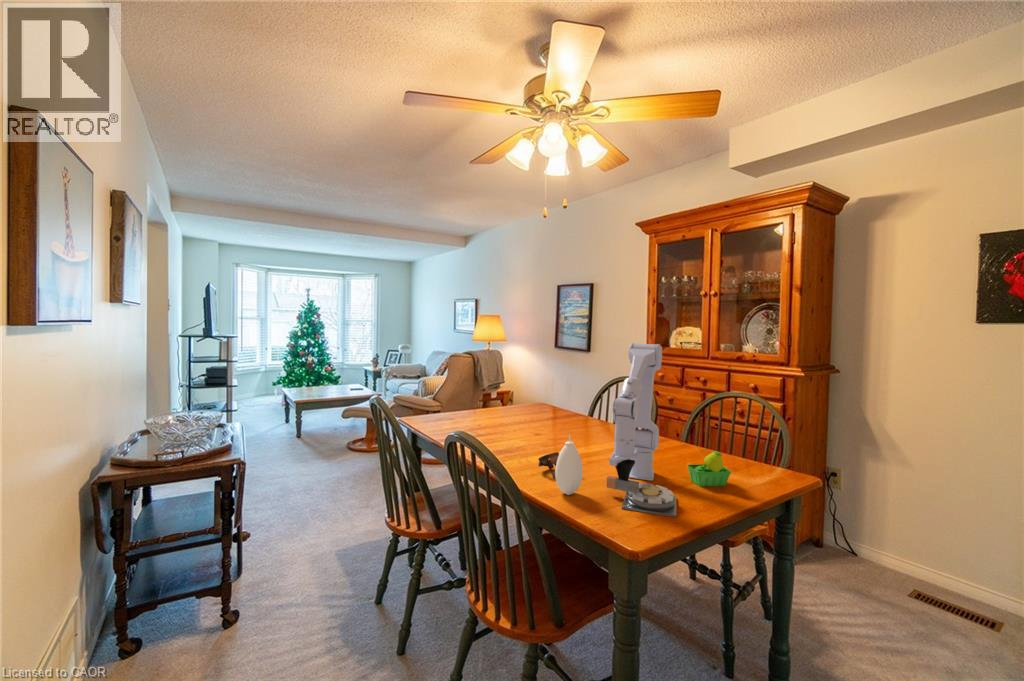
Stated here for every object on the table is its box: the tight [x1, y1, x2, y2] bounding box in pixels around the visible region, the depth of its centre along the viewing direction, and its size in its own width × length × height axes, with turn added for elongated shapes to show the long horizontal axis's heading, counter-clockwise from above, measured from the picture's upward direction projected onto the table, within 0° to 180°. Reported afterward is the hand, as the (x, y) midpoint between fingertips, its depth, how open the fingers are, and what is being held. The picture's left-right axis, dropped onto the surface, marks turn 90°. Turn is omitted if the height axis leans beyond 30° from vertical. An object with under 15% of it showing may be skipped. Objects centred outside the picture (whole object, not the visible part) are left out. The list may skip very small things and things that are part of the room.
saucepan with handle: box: [606, 475, 675, 504], centre depth 128 cm, size 12×18×3 cm
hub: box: [621, 483, 677, 518], centre depth 128 cm, size 14×14×5 cm
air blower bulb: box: [554, 434, 583, 496], centre depth 134 cm, size 8×8×18 cm
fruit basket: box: [686, 450, 732, 487], centre depth 145 cm, size 11×9×11 cm
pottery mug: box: [538, 451, 560, 480], centre depth 152 cm, size 12×10×8 cm
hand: (623, 484), depth 133 cm, fingers closed
